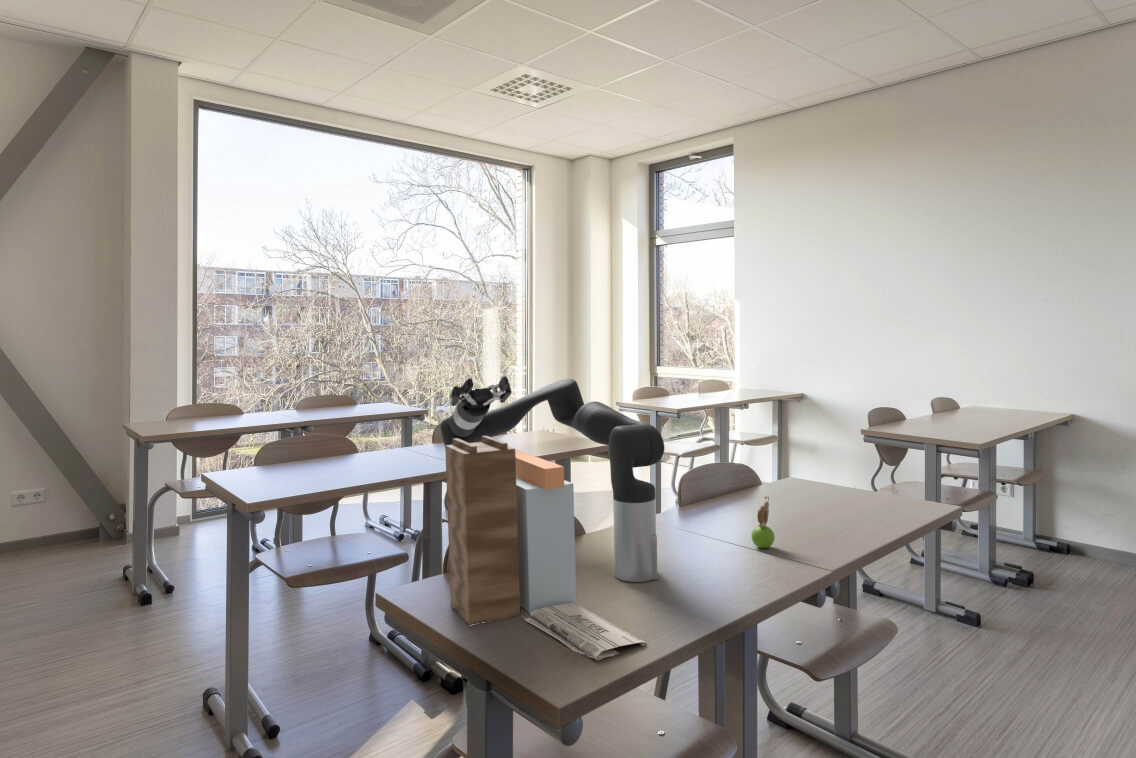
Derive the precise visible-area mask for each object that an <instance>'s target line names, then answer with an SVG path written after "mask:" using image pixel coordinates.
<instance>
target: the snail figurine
mask: <svg viewBox="0 0 1136 758" xmlns="http://www.w3.org/2000/svg"><path fill="white" fill-rule="evenodd" d="M764 499H765V501H764V502H763V505H761V506H760V507H759V508H758V510H757V515H756V516H757V521H758V523H759V524H758V526H756V527H754V529H753V530H752V533H751V540H752V542H753V544H754V545H755V546H756V547H758V548H760V549H768V548H770V547H771V546H772V545H774V542H775V539H776V538H775V537H776V536H775V532H774V531H773V530H772V528H771V527H769V526H767V523H768V521H769V513H770V512H769V511H770V509H769V508H770V503H769V499H770V496H764Z"/></svg>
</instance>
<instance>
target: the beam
mask: <svg viewBox="0 0 1136 758" xmlns="http://www.w3.org/2000/svg"><path fill="white" fill-rule="evenodd" d="M515 458H516V477H518V478H520V479H522V480H525V481H527V482H529V483H531V484H533V485H536V486H538V487H540V488H542V489H544V490H549V489H556V488H564V480H565V466H563V465H561V464H557V463H554V462H551V461H549V460H546V459H544V458H541V457H538V456H535V455H532V454H530V453H527V452H524V451H522V450H519V449H515Z"/></svg>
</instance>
